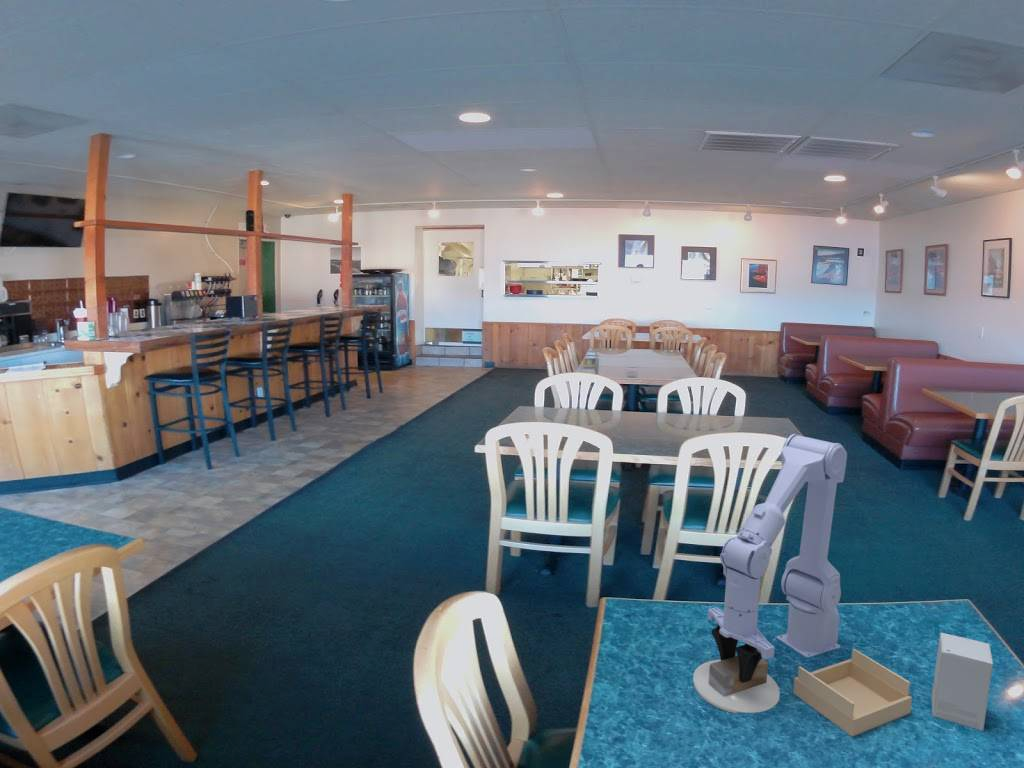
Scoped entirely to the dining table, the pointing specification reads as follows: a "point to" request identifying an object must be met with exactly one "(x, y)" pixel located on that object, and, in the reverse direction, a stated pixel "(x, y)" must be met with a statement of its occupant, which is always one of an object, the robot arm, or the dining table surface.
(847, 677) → the wooden tray
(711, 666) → the brown rectangular block
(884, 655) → the dining table surface
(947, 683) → the supplement box
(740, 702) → the plate
